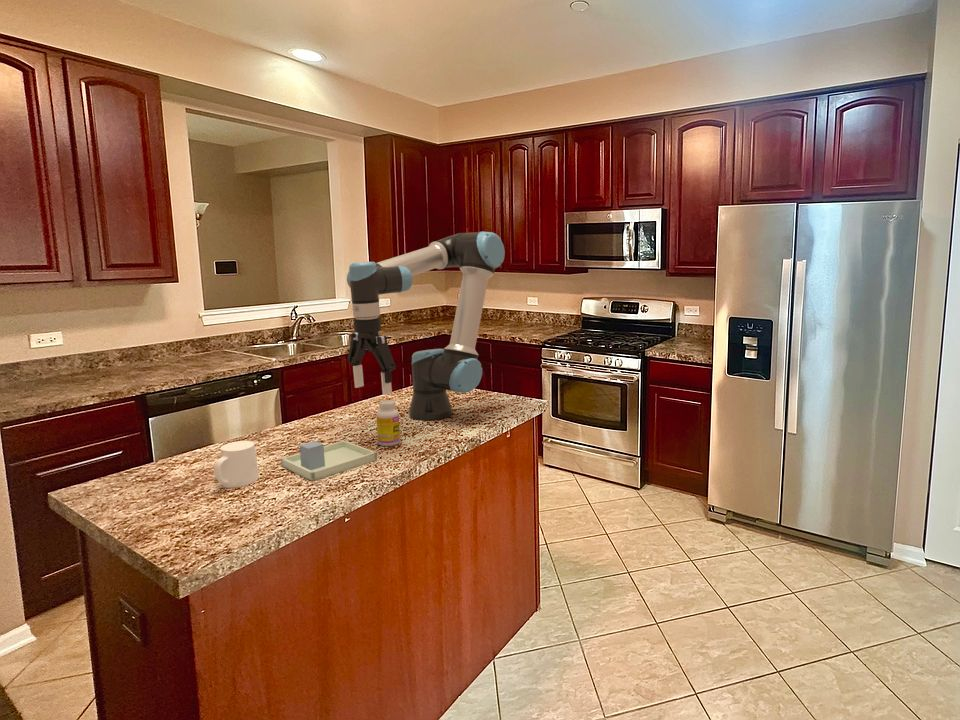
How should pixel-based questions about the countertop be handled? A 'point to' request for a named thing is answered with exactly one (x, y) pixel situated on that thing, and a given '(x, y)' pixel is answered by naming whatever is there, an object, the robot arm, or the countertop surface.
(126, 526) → the countertop surface
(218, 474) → the mug
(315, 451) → the grey rectangular block
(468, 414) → the countertop surface
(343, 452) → the tray
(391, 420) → the supplement bottle
